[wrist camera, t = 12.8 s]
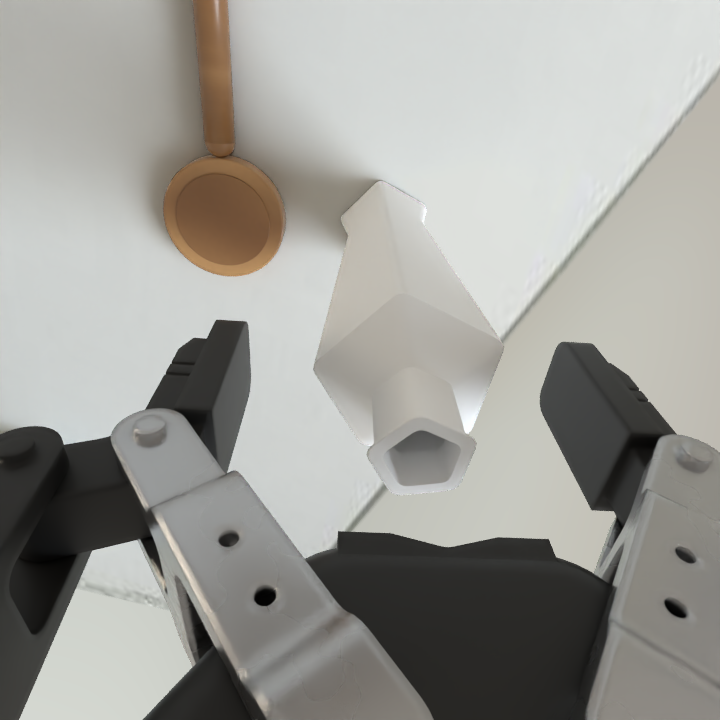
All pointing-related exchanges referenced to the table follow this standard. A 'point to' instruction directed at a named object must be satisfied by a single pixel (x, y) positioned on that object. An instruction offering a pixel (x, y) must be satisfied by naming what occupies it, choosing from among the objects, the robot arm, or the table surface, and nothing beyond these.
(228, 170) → the wooden spoon
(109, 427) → the table surface
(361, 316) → the perfume bottle
